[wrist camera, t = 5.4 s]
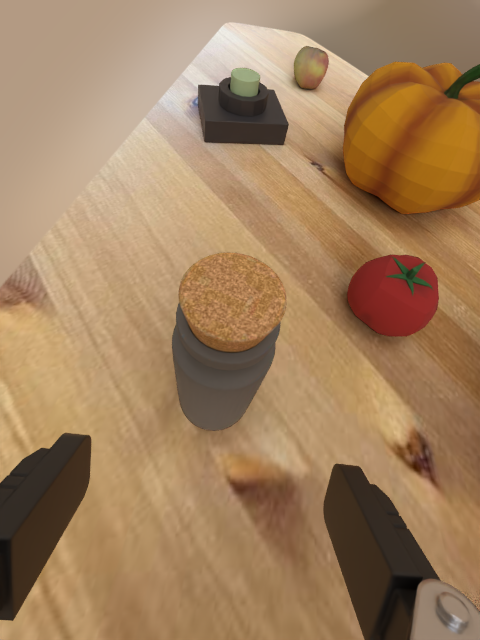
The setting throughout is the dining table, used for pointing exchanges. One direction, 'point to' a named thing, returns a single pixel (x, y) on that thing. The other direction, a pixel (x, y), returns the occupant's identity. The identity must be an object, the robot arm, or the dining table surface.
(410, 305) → the tomato
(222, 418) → the bottle
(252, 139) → the button housing
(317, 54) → the apple
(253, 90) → the green button cap
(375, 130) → the decorative pumpkin
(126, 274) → the dining table surface
